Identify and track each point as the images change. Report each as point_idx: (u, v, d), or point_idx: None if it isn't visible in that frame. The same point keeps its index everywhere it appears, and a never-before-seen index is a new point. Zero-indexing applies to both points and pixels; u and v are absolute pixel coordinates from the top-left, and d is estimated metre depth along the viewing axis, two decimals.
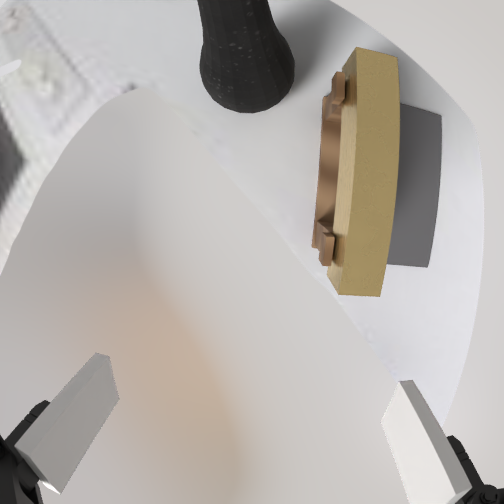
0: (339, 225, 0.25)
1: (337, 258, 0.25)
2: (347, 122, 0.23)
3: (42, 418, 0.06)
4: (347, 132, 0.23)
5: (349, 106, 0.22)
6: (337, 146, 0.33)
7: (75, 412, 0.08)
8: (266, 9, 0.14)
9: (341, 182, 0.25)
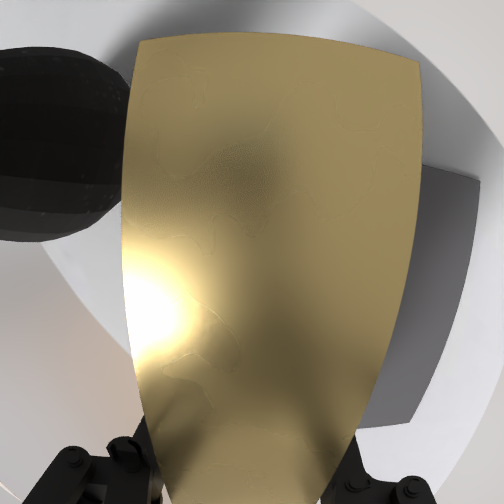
0: None
1: None
2: None
3: None
4: None
5: None
6: None
7: None
8: None
9: None
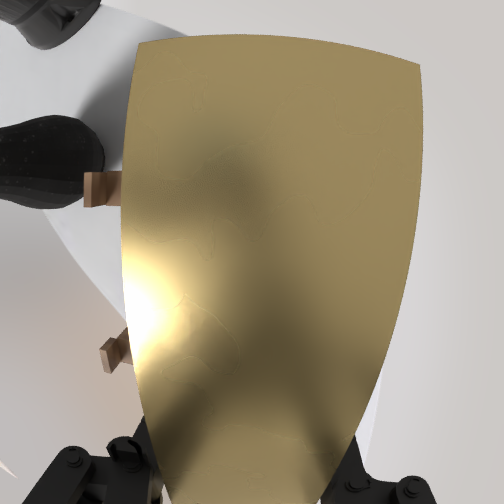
0: None
1: None
2: None
3: None
4: None
5: None
6: None
7: None
8: None
9: None
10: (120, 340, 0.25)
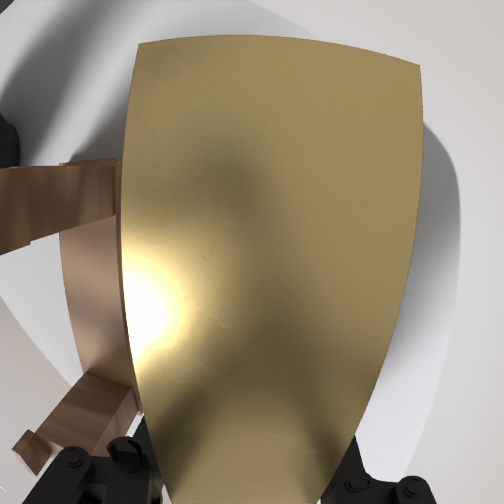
0: None
1: None
2: None
3: None
4: None
5: None
6: (82, 261, 0.17)
7: None
8: None
9: None
10: (40, 436, 0.12)
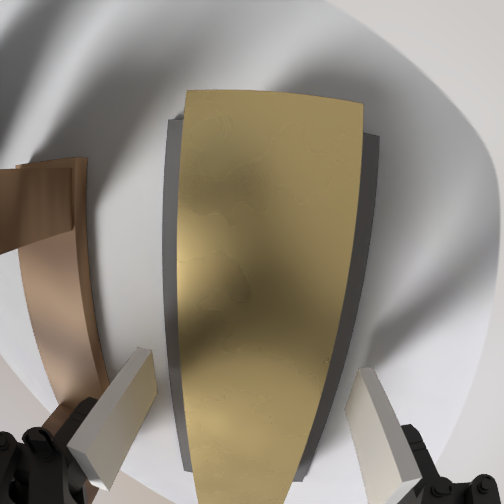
0: None
1: None
2: None
3: (93, 414, 0.07)
4: None
5: None
6: (43, 283, 0.13)
7: (124, 406, 0.09)
8: None
9: None
10: None
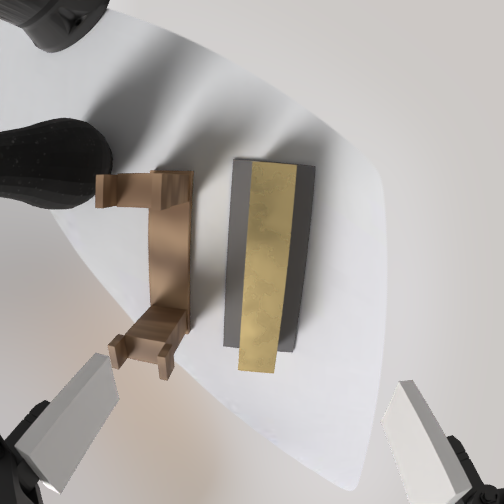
0: None
1: None
2: None
3: (42, 418, 0.06)
4: None
5: None
6: (164, 228, 0.32)
7: (75, 412, 0.08)
8: None
9: None
10: (128, 337, 0.27)
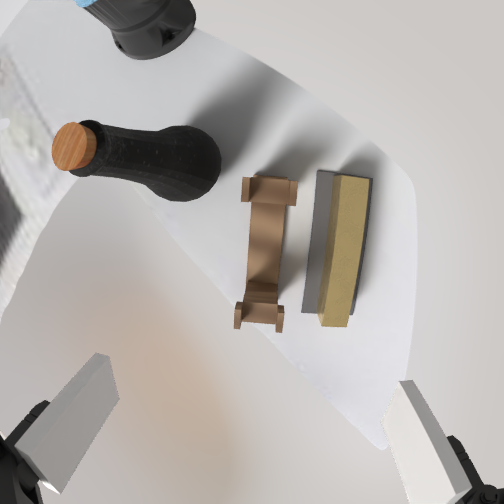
0: (323, 284, 0.43)
1: (322, 304, 0.43)
2: (332, 222, 0.41)
3: (42, 418, 0.06)
4: (331, 229, 0.41)
5: (334, 212, 0.40)
6: (264, 219, 0.43)
7: (75, 412, 0.08)
8: (161, 160, 0.24)
9: (326, 258, 0.43)
10: (245, 303, 0.38)
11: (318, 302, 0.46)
